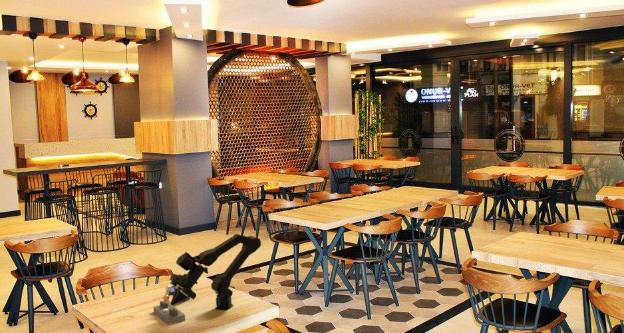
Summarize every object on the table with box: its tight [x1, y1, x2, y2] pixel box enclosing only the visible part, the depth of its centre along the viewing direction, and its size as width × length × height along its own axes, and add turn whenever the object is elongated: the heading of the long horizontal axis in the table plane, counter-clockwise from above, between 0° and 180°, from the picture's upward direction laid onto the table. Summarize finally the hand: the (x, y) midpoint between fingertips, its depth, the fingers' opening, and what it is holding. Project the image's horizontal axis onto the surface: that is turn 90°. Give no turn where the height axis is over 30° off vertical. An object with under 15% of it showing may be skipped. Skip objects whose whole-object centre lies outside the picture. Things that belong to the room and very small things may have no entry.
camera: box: [168, 285, 174, 296], centre depth 293 cm, size 12×11×7 cm
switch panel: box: [152, 300, 186, 325], centre depth 257 cm, size 20×8×5 cm, turn 34°
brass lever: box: [162, 294, 174, 313], centre depth 250 cm, size 3×3×10 cm
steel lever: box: [162, 284, 171, 304], centre depth 262 cm, size 3×3×10 cm
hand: (171, 304), depth 250 cm, fingers closed, pressing on brass lever
